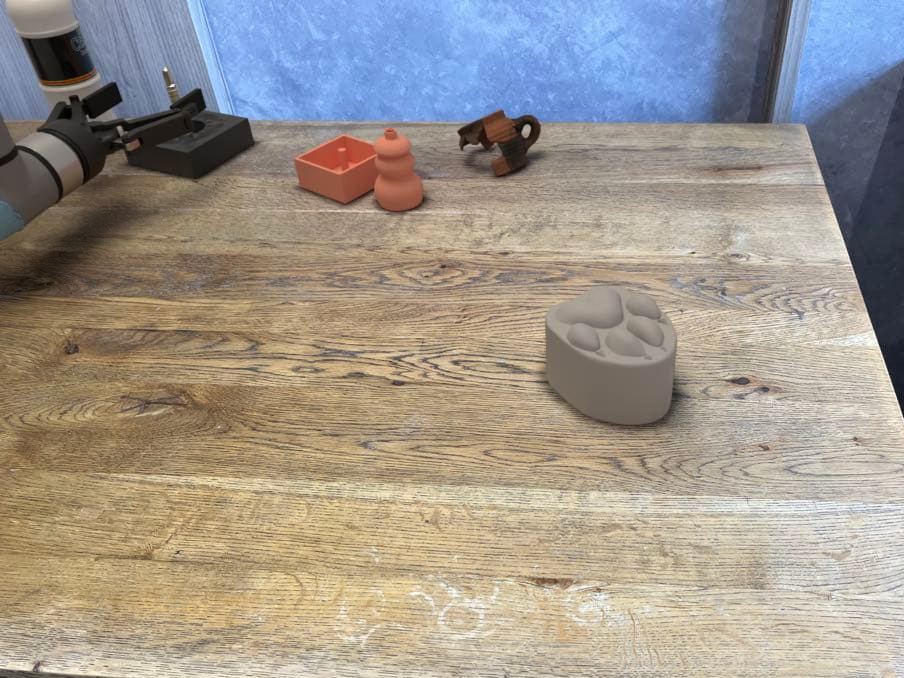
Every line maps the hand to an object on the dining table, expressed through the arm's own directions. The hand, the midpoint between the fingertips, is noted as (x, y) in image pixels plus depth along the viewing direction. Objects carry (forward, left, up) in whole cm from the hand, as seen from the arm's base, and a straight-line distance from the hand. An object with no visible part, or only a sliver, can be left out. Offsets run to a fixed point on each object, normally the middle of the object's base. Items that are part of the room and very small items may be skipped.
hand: (159, 94), depth 115 cm
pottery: (+32, +3, -10) cm, 33 cm away
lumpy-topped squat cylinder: (+78, -23, -10) cm, 82 cm away
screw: (0, +3, -10) cm, 11 cm away
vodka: (-17, 0, -10) cm, 20 cm away
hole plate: (0, +3, -10) cm, 10 cm away
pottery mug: (+45, +18, -10) cm, 49 cm away
